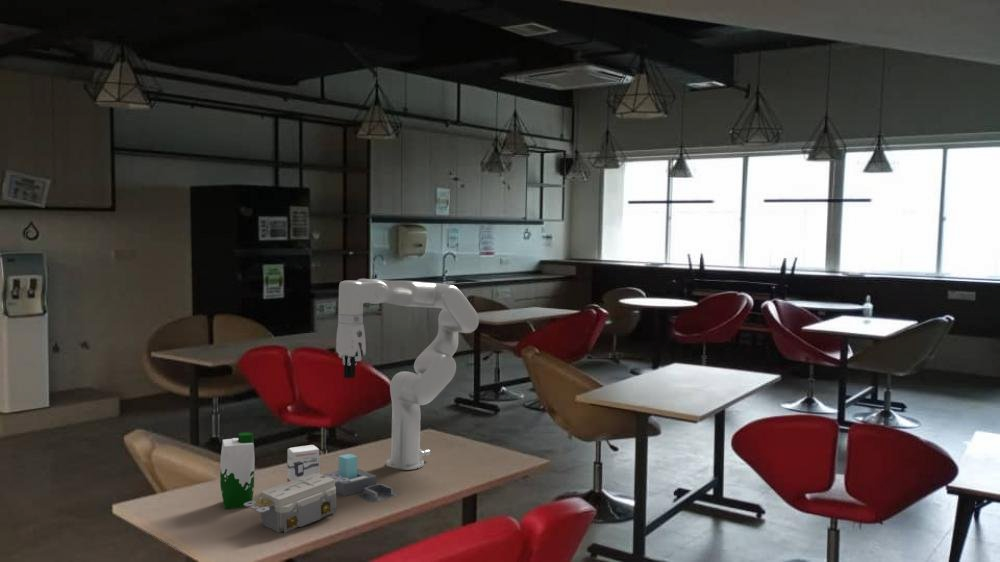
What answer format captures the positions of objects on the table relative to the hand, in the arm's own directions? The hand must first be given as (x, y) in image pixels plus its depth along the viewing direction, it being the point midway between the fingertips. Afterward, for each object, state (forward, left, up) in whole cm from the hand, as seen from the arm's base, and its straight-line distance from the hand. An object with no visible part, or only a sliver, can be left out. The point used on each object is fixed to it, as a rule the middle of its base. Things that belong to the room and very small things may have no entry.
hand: (349, 377), depth 240 cm
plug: (+6, +9, -32) cm, 34 cm away
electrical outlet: (+31, +21, -32) cm, 50 cm away
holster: (+4, +21, -32) cm, 39 cm away
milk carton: (+37, -1, -32) cm, 49 cm away
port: (+6, +9, -32) cm, 34 cm away
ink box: (+15, -2, -32) cm, 36 cm away
